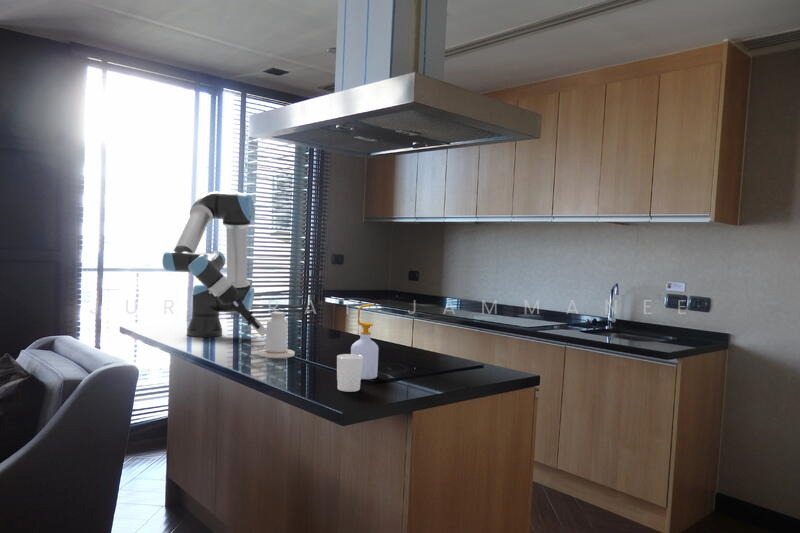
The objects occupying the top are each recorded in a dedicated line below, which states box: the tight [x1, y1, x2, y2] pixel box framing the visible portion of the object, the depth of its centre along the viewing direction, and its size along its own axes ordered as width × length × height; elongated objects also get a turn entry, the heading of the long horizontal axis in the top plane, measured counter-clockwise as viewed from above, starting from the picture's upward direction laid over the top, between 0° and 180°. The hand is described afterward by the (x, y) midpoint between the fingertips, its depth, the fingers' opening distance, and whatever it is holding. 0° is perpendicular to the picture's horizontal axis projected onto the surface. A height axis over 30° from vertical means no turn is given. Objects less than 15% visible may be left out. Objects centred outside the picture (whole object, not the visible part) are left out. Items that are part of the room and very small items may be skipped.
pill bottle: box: [265, 311, 289, 353], centre depth 224 cm, size 8×8×15 cm
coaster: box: [257, 348, 296, 359], centre depth 224 cm, size 14×14×1 cm
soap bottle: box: [350, 302, 380, 380], centre depth 194 cm, size 9×9×25 cm
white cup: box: [336, 353, 363, 393], centre depth 176 cm, size 8×8×10 cm
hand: (263, 331), depth 222 cm, fingers open, 13 cm apart
